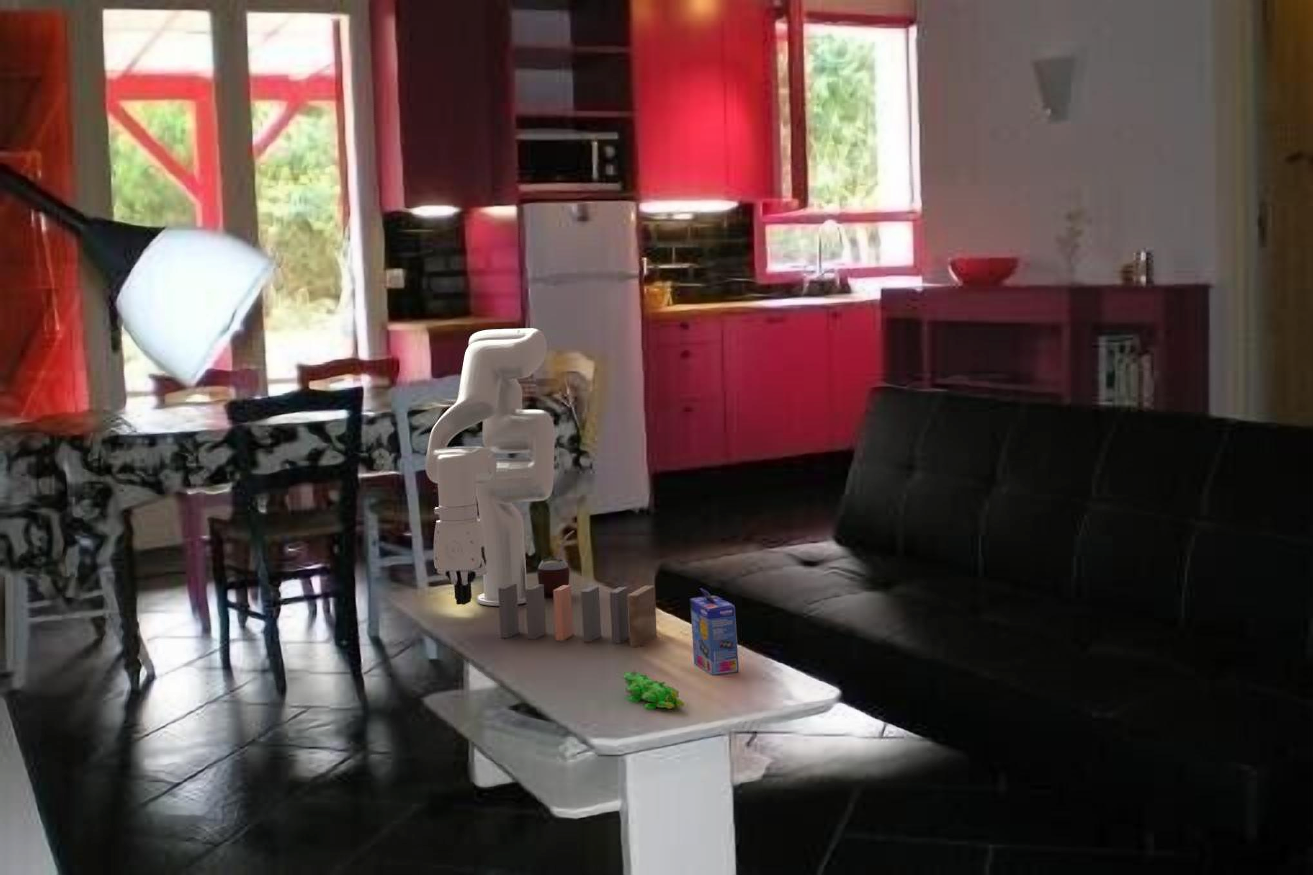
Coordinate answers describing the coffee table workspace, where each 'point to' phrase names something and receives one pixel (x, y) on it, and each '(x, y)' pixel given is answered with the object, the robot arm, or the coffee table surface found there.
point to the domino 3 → (563, 612)
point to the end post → (642, 616)
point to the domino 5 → (619, 615)
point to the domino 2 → (535, 611)
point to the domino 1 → (508, 610)
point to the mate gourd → (554, 572)
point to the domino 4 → (591, 613)
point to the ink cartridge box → (714, 634)
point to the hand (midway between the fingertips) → (463, 602)
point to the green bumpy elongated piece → (651, 691)
